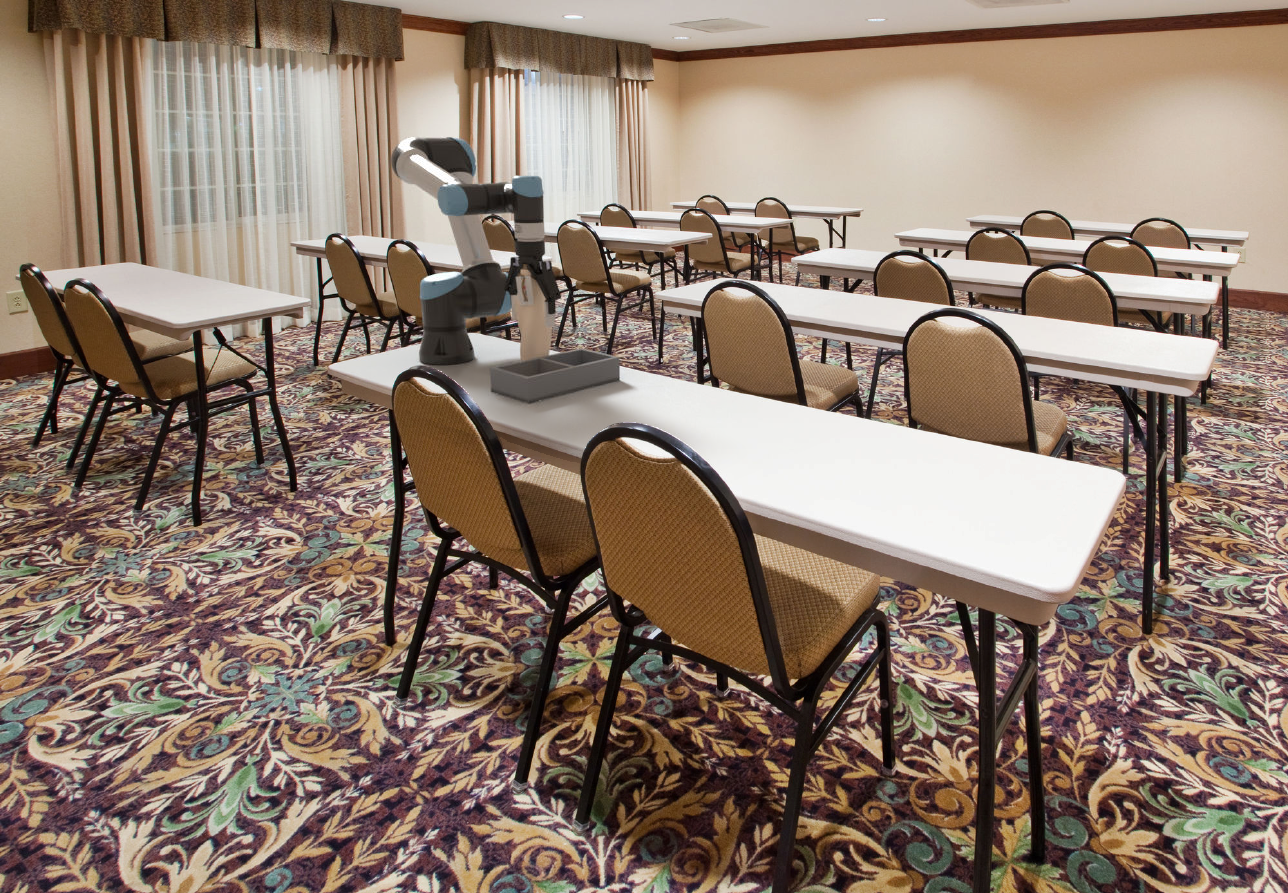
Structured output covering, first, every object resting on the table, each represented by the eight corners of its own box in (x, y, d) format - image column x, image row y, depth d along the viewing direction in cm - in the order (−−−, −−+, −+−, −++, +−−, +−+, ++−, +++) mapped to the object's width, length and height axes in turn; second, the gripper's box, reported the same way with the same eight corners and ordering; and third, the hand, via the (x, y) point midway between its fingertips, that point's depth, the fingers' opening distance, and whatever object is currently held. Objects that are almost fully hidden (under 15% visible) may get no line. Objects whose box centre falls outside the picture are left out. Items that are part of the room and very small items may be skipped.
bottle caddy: (491, 391, 206) (489, 367, 204) (582, 370, 226) (581, 348, 224) (528, 403, 196) (527, 378, 194) (619, 380, 216) (619, 357, 214)
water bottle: (549, 375, 221) (544, 266, 211) (515, 374, 221) (509, 266, 212) (555, 365, 230) (551, 261, 221) (522, 365, 231) (517, 261, 222)
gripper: (488, 237, 220) (493, 318, 227) (550, 244, 204) (553, 331, 211) (511, 235, 225) (515, 314, 232) (573, 242, 209) (575, 327, 216)
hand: (533, 322), depth 221 cm, fingers open, 13 cm apart
